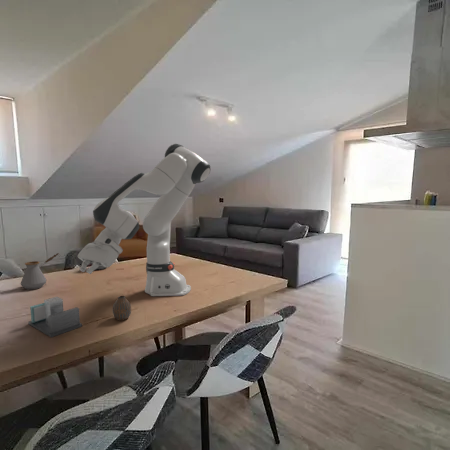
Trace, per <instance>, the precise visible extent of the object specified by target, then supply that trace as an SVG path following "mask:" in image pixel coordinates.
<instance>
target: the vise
mask: <svg viewBox="0 0 450 450" xmlns="http://www.w3.org/2000/svg"><path fill="white" fill-rule="evenodd" d="M48 318H49V325H47V324H46V319H45V320H41V321H38V322H35V323H32V322H31V320H29V321H28V322H27V323H28V325H29V326H31V327H33V328H34V329H36V330H38V331H40V333H43V334H44V335H46V336H48V337H49V338H54V337H57V336H60V335H62V334H65V333H68V332H71V331H73V330H75V329H80V328H82V327H83V323H81V319H80V308H79V307H78V306H77V307H73V308H70V309H67V310H63V312H59V313H56V314H53V315H49V316H48Z"/></svg>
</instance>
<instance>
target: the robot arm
mask: <svg viewBox="0 0 450 450" xmlns="http://www.w3.org/2000/svg"><path fill="white" fill-rule="evenodd" d="M210 173H211V164H210V163H209V162H208V161H207V160H205V159H204V158H202V157H201V156H200V155H198V154H197V153H195V152H194V151H192V150H190V149H188V148H186V147H184V146H183V145H182V144H179V143H173V144H171V145H170V146H168V147H167V149H166V150H165V153H164V158H163V159H161V161H159V163H157V165H155V167H154V168H152V170H151V171H149V172H145V173H143V172H141V173H138V174H136V175H134V176H133V177H132V178H130V179H129V180H128V181H127V182H125V183H124V184H123V185H122V186H120V187H119V188H118V189H117V190H116V191H114V192H113V193H112V194H111V195H109V196H108V197H106V198H105V199H103V200H101V201H100V202H98V203H97V204H96V205H95V207H94V209H93V210H92V214H93V218H94V221H96V222H97V223H99V224H100V225H102V226H104V227H105V228H104V229H103V230H101V231H100V233H99V234H98V236H96V238H95V240H94V241H92V242H89V243H87V244H86V245H85V246H84V247H83V248H82V249H81V250H80V251H79V253H78V254H77V258H78V259H79V260H81V261H82V263H81V266H80V267H79V271H81V272H83V273H84V272H86V273H88V274H90V275H92V274H93V272H94V271H96V270H95V269H97V268H98V267H99V266H104V267H107V268H109V267H112V265H113V264H114V263H115V261H116V260H117V259H118V258H119V255H120V254H122V253H123V250H124V249H123V248H122V246H120V243H121V241H122V240H131V239H133V237H135V235H136V234H137V232H138V231H139V229H140V222H139V221H138V220H137V218H136V217H135V216H134V214H133V213H132V212H131V211H129V210H126V209H124V208H122V207H121V206H120V205H119V203H120V202H121V201H122V200H124V199H125V197H127V196H128V195H129V194H131V193H132V192H133V191H138V190H139V191H140V190H141V191H144V192H147V193H150V194H152V195H157V196H159V198H158V199H157V200H156V201H155V203H154V205H153V206H152V207H151V209H150V210H149V211H148V212H147V214H146V216H145V217H144V218H143V222H142V229H143V231H144V232H145V233H146V234H147V242H146V243H147V244H146V263H145V271H146V272H145V273H146V281H145V289H144V293H146V294H148V295H149V296H150V297H169V296H171V297H174V296H176V297H177V296H185V295H187V294H189V293H190V292H191V289H192V286H191V285H190V284H187V280H186V277H185V276H184V275H183V274H181V273H180V272H179V271H178V270H176V269H175V262H172V261H171V251H170V250H171V248H170V247H171V227H172V221H173V219H175V217H176V216H177V214H178V213H179V211H181V208H182V207H183V206H184V204H185V203H186V201H187V199H188V198H189V197H190V195H191V193H192V192H193V191H194V188H195V186H196V184H201V183H203V182H205V181H206V179H207V178H208V177H209V176H210ZM90 264H91V266H90V267H88V265H90ZM92 264H93V265H92ZM87 267H88V268H87Z"/></svg>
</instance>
